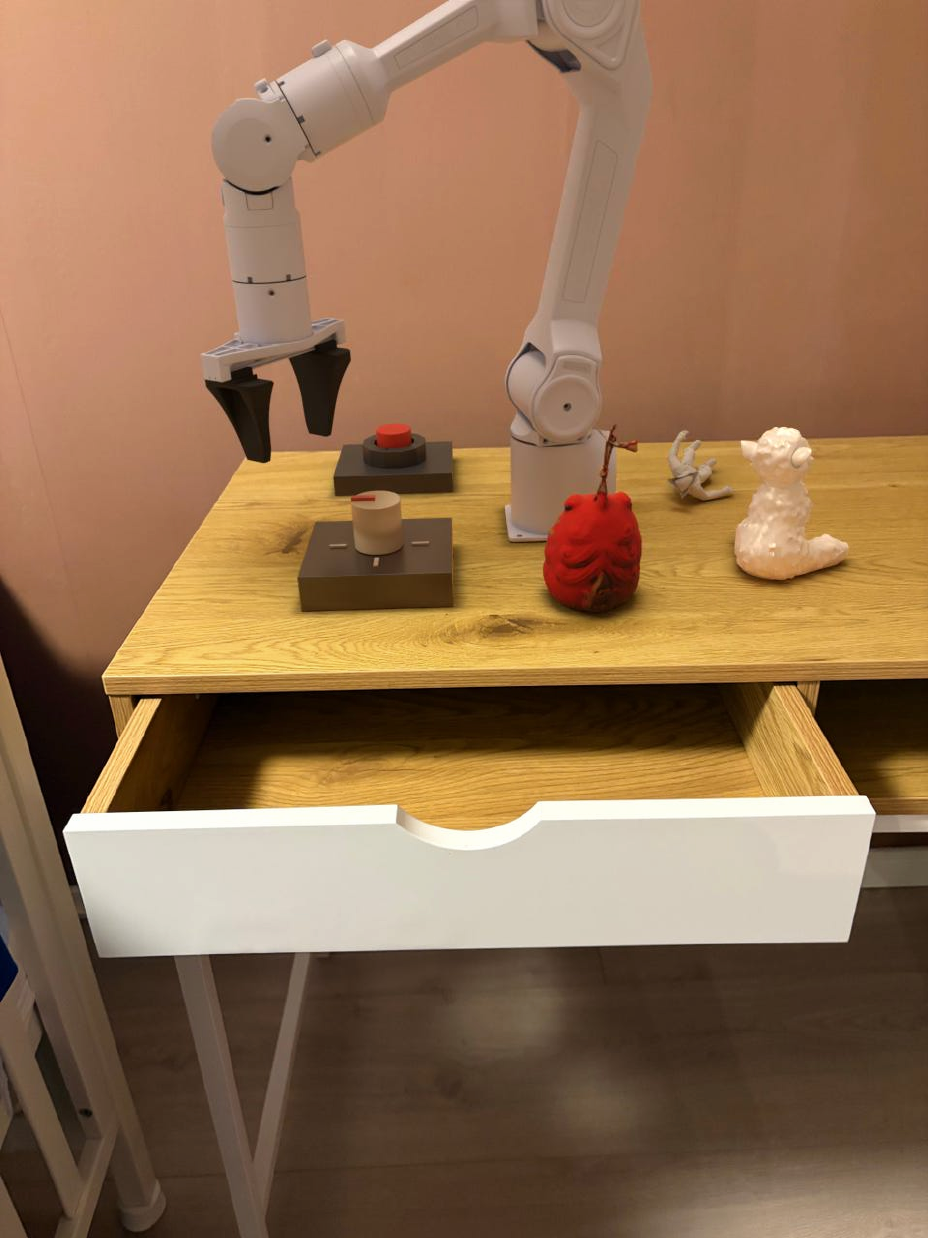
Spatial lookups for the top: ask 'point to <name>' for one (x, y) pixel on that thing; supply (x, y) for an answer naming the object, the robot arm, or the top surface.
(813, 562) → the sitting furry creature
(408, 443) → the button
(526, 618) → the top surface
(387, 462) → the button box
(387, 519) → the dial knob
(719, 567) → the top surface
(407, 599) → the dial panel
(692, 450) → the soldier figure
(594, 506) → the red clay folk toy
